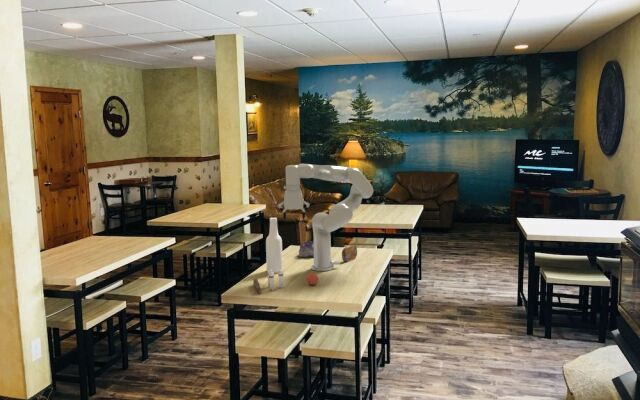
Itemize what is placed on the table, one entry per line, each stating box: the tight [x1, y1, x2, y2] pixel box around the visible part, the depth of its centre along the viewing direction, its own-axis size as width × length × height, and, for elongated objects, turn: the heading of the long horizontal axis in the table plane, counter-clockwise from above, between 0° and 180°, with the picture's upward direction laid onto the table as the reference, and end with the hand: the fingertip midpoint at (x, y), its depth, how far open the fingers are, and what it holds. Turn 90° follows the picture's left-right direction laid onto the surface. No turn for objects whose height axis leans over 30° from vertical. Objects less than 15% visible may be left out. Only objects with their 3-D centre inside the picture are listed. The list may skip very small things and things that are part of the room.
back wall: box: [252, 278, 262, 295], centre depth 264 cm, size 2×16×3 cm, turn 13°
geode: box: [298, 240, 314, 258], centre depth 335 cm, size 20×12×10 cm, turn 163°
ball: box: [306, 272, 319, 286], centre depth 270 cm, size 6×6×6 cm
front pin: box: [277, 270, 285, 289], centre depth 266 cm, size 2×2×8 cm
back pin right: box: [267, 270, 273, 288], centre depth 267 cm, size 2×2×8 cm
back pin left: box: [268, 272, 275, 291], centre depth 262 cm, size 2×2×8 cm
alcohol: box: [265, 217, 284, 274], centre depth 295 cm, size 9×9×30 cm
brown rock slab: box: [341, 244, 358, 263], centre depth 320 cm, size 15×3×8 cm, turn 148°
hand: (294, 219), depth 291 cm, fingers open, 9 cm apart
